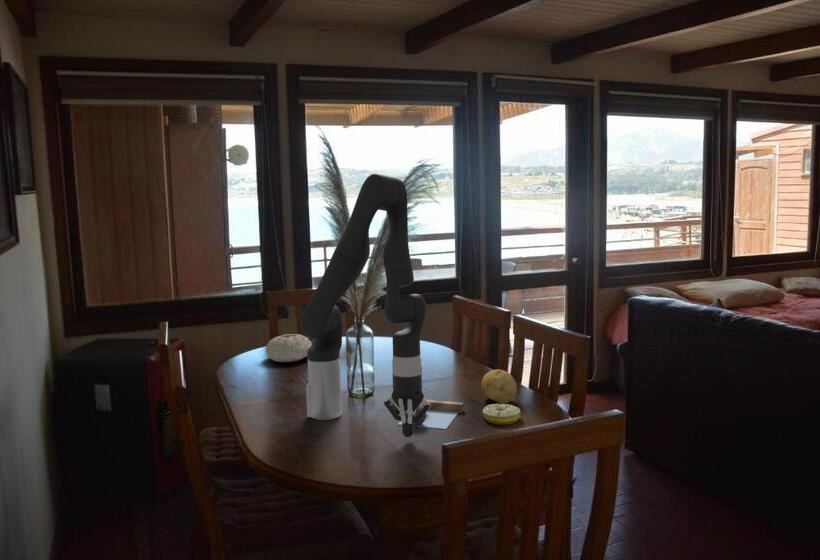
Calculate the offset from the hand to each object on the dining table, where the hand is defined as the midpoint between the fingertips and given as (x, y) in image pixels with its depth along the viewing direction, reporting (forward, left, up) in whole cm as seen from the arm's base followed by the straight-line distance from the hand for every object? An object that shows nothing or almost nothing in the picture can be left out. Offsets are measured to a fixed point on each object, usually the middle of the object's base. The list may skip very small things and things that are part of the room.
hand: (408, 436), depth 174 cm
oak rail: (0, +26, -2) cm, 26 cm away
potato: (+16, +38, -2) cm, 41 cm away
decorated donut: (+20, +23, -2) cm, 31 cm away
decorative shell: (-72, +68, -2) cm, 99 cm away
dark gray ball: (-2, +12, +1) cm, 12 cm away
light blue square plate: (0, +18, -2) cm, 18 cm away
